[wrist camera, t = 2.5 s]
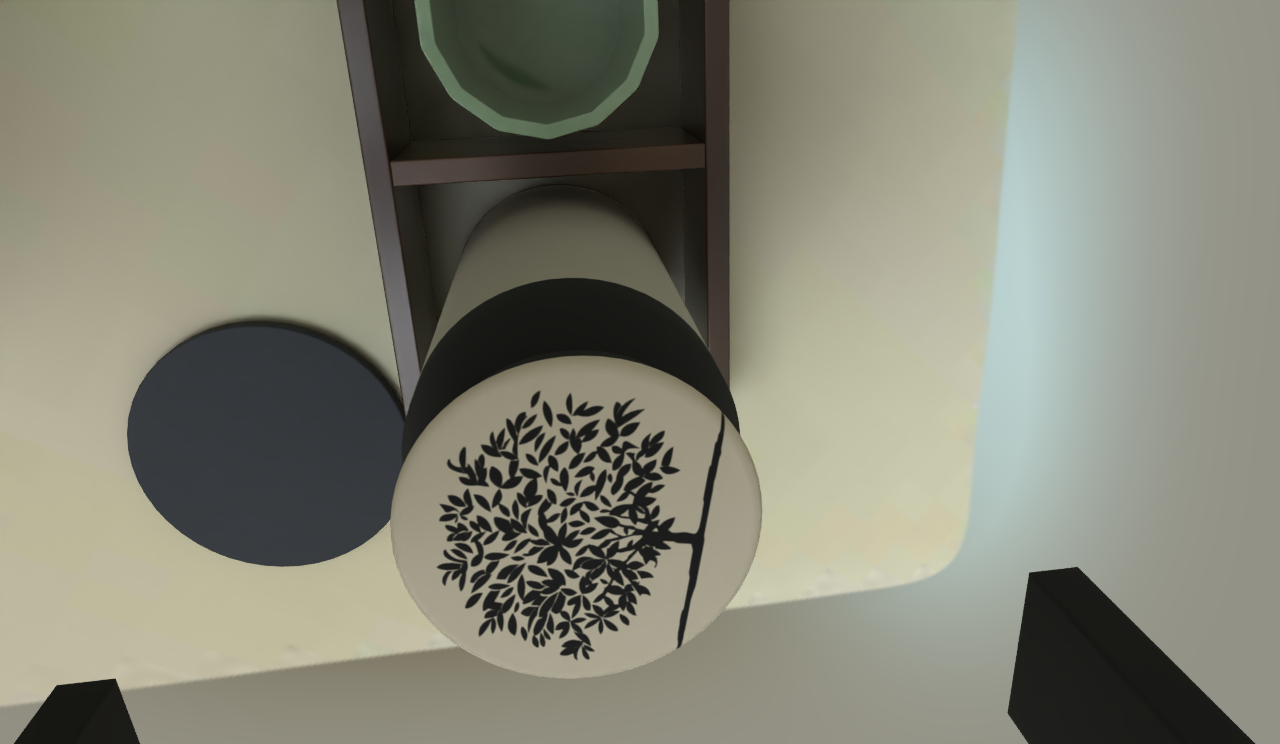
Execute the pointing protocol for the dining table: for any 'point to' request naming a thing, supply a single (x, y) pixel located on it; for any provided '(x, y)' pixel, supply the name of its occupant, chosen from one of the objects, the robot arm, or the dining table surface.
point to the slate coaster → (268, 443)
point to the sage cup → (539, 58)
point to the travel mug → (571, 450)
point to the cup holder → (539, 171)
